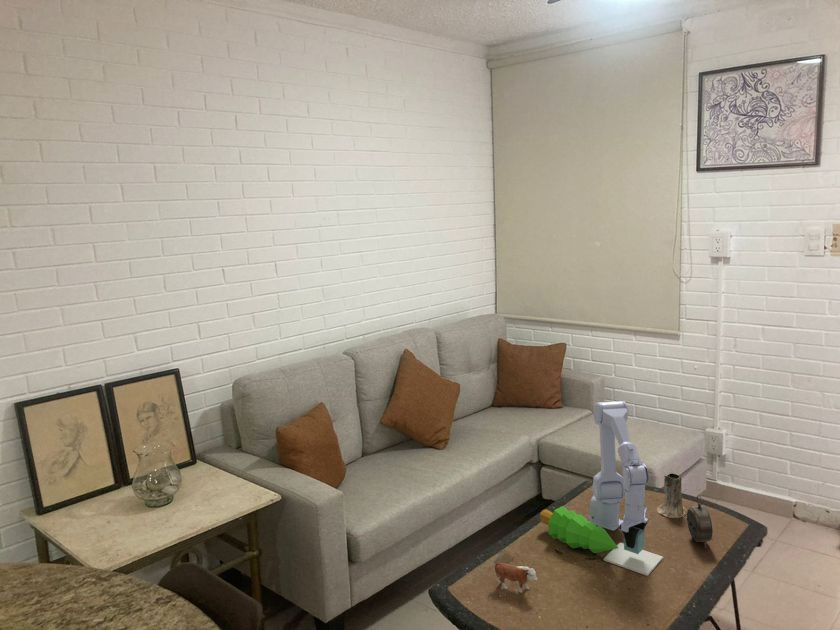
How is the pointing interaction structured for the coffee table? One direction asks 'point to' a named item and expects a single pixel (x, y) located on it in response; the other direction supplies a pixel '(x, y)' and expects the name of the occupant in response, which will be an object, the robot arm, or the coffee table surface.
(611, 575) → the coffee table surface
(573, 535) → the decorative tree
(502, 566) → the bull figurine
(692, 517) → the alarm clock
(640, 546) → the teal block
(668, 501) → the tree stump
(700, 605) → the coffee table surface
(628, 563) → the off-white tile
